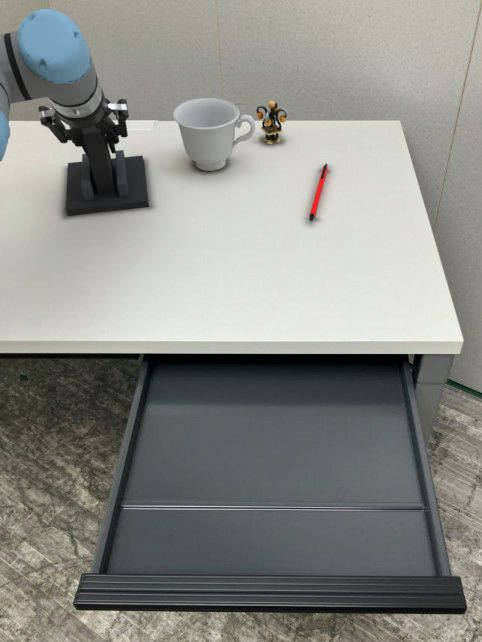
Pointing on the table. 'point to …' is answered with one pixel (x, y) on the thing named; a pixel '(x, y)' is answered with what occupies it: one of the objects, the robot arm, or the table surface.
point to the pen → (318, 192)
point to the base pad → (126, 193)
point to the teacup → (210, 130)
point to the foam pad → (99, 159)
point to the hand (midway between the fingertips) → (100, 146)
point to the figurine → (271, 121)
